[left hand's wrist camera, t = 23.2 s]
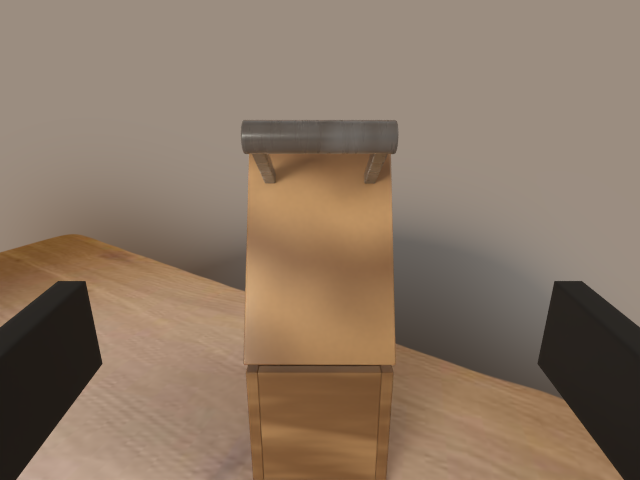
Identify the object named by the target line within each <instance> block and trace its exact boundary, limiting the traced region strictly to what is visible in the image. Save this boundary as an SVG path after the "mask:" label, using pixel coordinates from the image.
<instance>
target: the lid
mask: <svg viewBox="0 0 640 480" xmlns="http://www.w3.org/2000/svg"><path fill="white" fill-rule="evenodd" d="M241 143H242V149H243V152H244V153H245V154H249V179H248V217H247V254H246V291H245V329H244V365H395V364H396V356H395V313H394V269H393V226H392V183H391V154H395V153H396V150H397V146H398V124H397V121H395V120H244V121H243V122H242V126H241Z"/></svg>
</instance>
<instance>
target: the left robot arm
mask: <svg viewBox="0 0 640 480" xmlns="http://www.w3.org/2000/svg"><path fill="white" fill-rule="evenodd" d="M101 365H102V359H101V354H100V350H99V345H98V340H97V335H96V330H95V325H94V320H93V315H92V311H91V306H90V301H89V296H88V291H87V286H86V281H58V282H56V283H55V284H54V285H53V286H51V287H50V288H49V289H48V290H46V291H45V292H44V293H43V294H41V295H40V296H39V297H38V298H36V299H35V300H34V301H33V302H31V303H30V304H29V305H28V306H26V307H25V308H24V309H23V310H21V311H20V312H19V313H18V314H16V315H15V316H14V317H13V318H11V319H10V320H9V321H8V322H6V323H5V324H4V325H3V326H1V327H0V480H16V479H17V478H18V476H19V475H20V474H21V472H22V471H23V470H24V468H25V467H26V466H27V464H28V463H29V462H30V460H31V459H32V458H33V456H34V455H35V454H36V452H37V451H38V450H39V448H40V447H41V446H42V444H43V443H44V441H45V440H46V439H47V437H48V436H49V435H50V433H51V432H52V431H53V429H54V428H55V427H56V425H57V424H58V423H59V421H60V420H61V419H62V417H63V416H64V415H65V413H66V412H67V411H68V409H69V408H70V407H71V405H72V404H73V403H74V401H75V400H76V399H77V397H78V396H79V395H80V393H81V392H82V390H83V389H84V388H85V386H86V385H87V384H88V382H89V381H90V380H91V378H92V377H93V376H94V374H95V373H96V372H97V370H98V369H99V368H100V366H101ZM538 365H539V366H540V368H541V369H542V370H543V372H544V373H545V374H546V376H547V377H548V378H549V380H550V381H551V382H552V384H553V385H554V386H555V388H556V389H557V390H558V392H559V393H560V394H561V396H562V397H563V399H564V400H565V401H566V403H567V404H568V405H569V407H570V408H571V409H572V411H573V412H574V413H575V415H576V416H577V417H578V419H579V420H580V421H581V423H582V424H583V425H584V427H585V428H586V429H587V431H588V432H589V433H590V435H591V436H592V437H593V439H594V440H595V441H596V443H597V444H598V446H599V447H600V448H601V450H602V451H603V452H604V454H605V455H606V456H607V458H608V459H609V460H610V462H611V463H612V464H613V466H614V467H615V468H616V470H617V471H618V472H619V474H620V475H621V476H622V478H623V479H624V480H640V327H639V326H637V325H636V324H635V323H634V322H632V321H631V320H630V319H628V318H627V317H626V316H625V315H623V314H622V313H621V312H620V311H619V310H617V309H616V308H615V307H614V306H612V305H611V304H610V303H609V302H607V301H606V300H605V299H604V298H602V297H601V296H600V295H599V294H597V293H596V292H595V291H594V290H592V289H591V288H590V287H588V286H587V285H586V284H585V283H583V282H582V281H555V282H554V286H553V291H552V296H551V301H550V306H549V311H548V315H547V320H546V325H545V330H544V335H543V340H542V345H541V350H540V354H539V359H538Z"/></svg>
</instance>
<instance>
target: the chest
mask: <svg viewBox="0 0 640 480" xmlns="http://www.w3.org/2000/svg"><path fill="white" fill-rule="evenodd" d="M246 381H247V396H248V410H249V424H250V439H251V453H252V468H253V480H386V472H387V457H388V443H389V429H390V415H391V400H392V386H393V369H392V365H248V367H247V371H246Z"/></svg>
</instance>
